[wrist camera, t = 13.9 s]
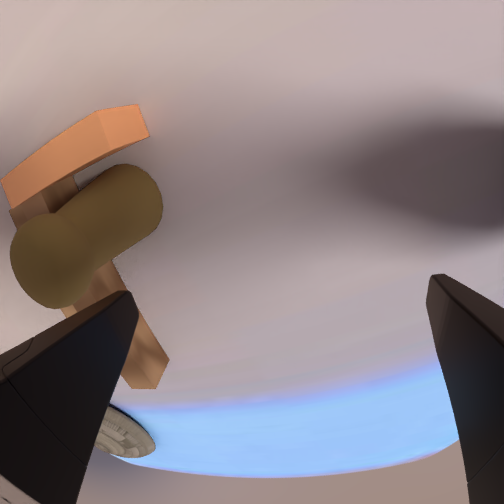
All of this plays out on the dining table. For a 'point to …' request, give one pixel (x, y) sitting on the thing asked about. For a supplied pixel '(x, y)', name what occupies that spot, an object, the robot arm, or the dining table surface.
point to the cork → (84, 235)
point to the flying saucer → (123, 436)
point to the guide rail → (64, 189)
